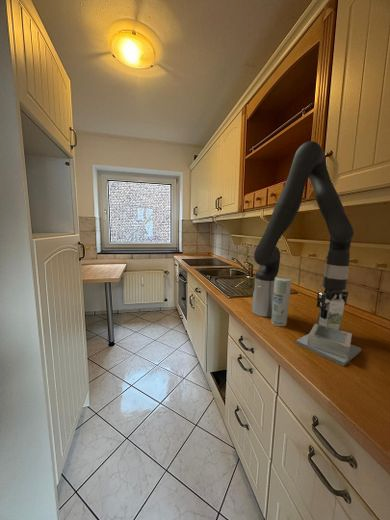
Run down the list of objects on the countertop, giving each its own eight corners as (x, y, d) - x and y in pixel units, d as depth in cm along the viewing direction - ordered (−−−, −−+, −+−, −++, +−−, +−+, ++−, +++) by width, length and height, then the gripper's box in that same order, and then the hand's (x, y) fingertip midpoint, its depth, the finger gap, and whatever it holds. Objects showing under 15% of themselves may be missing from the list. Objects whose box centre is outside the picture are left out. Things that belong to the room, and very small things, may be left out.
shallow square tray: (307, 345, 72) (308, 334, 71) (313, 333, 81) (315, 323, 80) (347, 359, 65) (349, 347, 64) (350, 344, 73) (352, 333, 73)
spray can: (289, 324, 90) (294, 279, 87) (280, 327, 87) (285, 281, 84) (276, 318, 96) (280, 276, 92) (267, 321, 92) (271, 277, 89)
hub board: (295, 343, 75) (296, 340, 75) (315, 332, 83) (315, 330, 83) (343, 366, 63) (344, 362, 63) (360, 351, 71) (361, 348, 71)
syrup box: (329, 329, 87) (334, 296, 84) (339, 336, 81) (345, 301, 79) (316, 329, 86) (320, 295, 84) (325, 336, 81) (330, 300, 78)
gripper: (339, 273, 86) (333, 311, 88) (313, 275, 81) (308, 315, 84) (358, 277, 79) (352, 318, 82) (331, 279, 74) (325, 323, 77)
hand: (329, 317), depth 83 cm, fingers closed on syrup box, 6 cm apart
